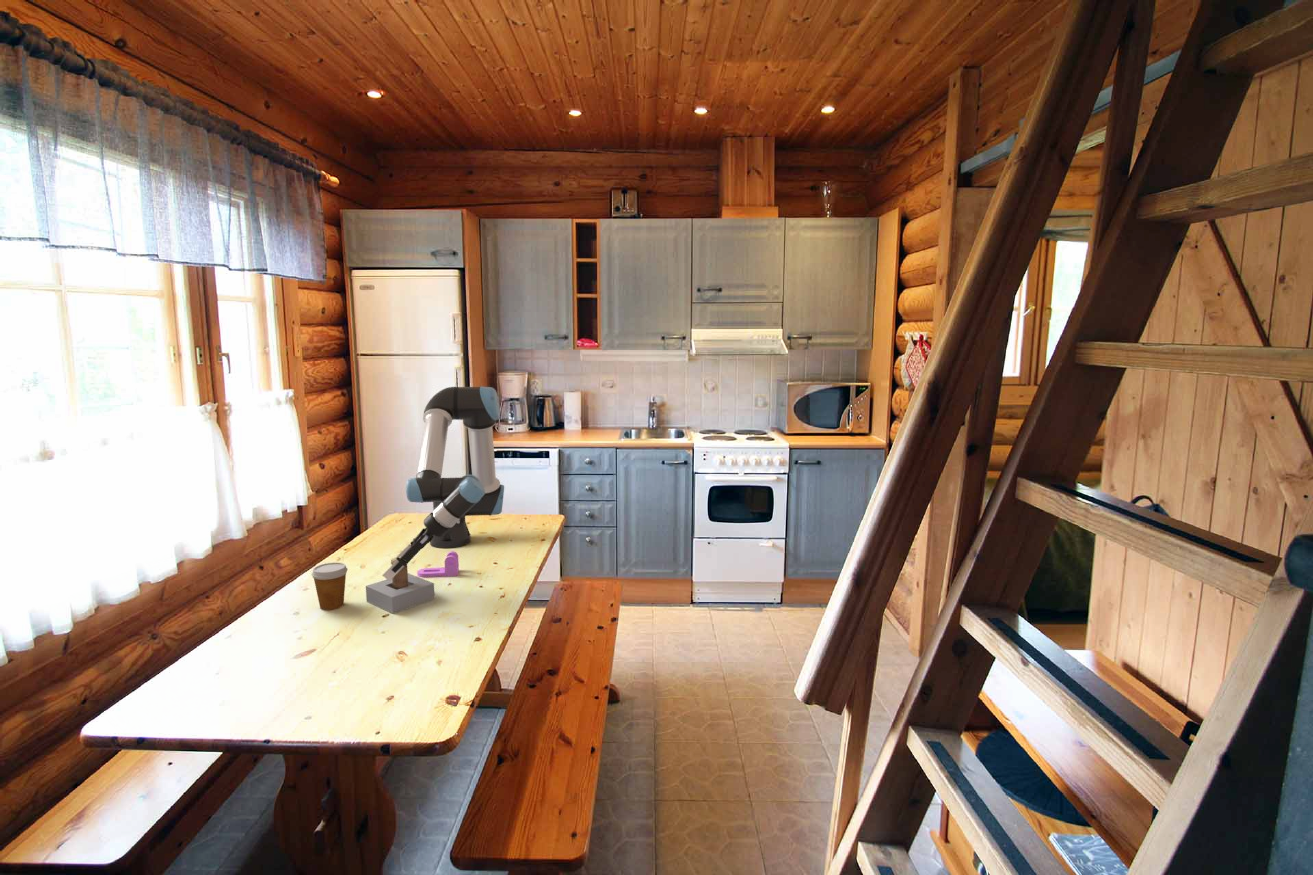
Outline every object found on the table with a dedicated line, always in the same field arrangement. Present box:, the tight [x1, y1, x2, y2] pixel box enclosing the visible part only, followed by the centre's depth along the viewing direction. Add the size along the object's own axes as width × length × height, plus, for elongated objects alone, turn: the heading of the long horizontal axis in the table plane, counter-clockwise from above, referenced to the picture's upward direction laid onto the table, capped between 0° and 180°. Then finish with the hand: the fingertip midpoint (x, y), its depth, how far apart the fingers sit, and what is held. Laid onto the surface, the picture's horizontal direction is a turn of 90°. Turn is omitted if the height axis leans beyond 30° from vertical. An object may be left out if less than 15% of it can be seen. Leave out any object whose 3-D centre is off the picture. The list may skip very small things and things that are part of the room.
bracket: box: [416, 551, 460, 579], centre depth 222 cm, size 13×6×7 cm, turn 99°
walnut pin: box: [390, 556, 408, 590], centre depth 200 cm, size 5×5×13 cm
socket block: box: [365, 573, 436, 615], centre depth 200 cm, size 14×14×5 cm
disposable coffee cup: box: [311, 561, 348, 611], centre depth 195 cm, size 10×10×12 cm
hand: (391, 569), depth 199 cm, fingers open, 13 cm apart
